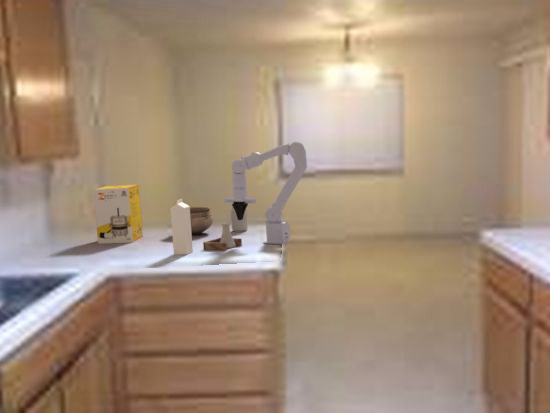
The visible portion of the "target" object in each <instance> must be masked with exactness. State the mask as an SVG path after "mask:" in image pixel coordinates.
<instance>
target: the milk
mask: <svg viewBox="0 0 550 413" xmlns="http://www.w3.org/2000/svg"><path fill="white" fill-rule="evenodd" d="M190 207H191V205H188V204H187V203H184V202H183V198H179V199H177V200H176V204H175V205H173V206H172V207H170V220H171V234H172V249H173V255H174V256H175V255H190V254H191V253H193V252H194V251H193V250H194V249H193V239H192V238H193V237H192V236H193V235H192V234H191V219H190Z"/></svg>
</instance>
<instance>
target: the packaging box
mask: <svg viewBox="0 0 550 413" xmlns="http://www.w3.org/2000/svg"><path fill="white" fill-rule="evenodd" d="M93 201H94V210H95V211H94V212H95V213H94V214H95V223H96V235H97V244H99V245H103V244H125V243H127V244H130V243H134V242H136V241H138V240H139V239H141V238H142V237H144V235H143V225H142V224H143V222H142V210H141V197H140V185H139V184H125V185H122V184H121V185H106V186H102V187H98V188H94V189H93Z"/></svg>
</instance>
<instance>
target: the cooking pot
mask: <svg viewBox="0 0 550 413" xmlns="http://www.w3.org/2000/svg"><path fill="white" fill-rule="evenodd" d="M210 209H211V206H190V219H191V234H192V236H199V235H202V233H204V232H205V231H207V230H208V229H210V227H211V226H212V224H213V221H214V219H213V218H214V217H213V214H212V212H211V210H210Z"/></svg>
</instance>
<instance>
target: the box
mask: <svg viewBox="0 0 550 413" xmlns="http://www.w3.org/2000/svg"><path fill="white" fill-rule="evenodd" d="M232 238H233V240H234V242H235V244H236V247H241V246H242V245H243V244H242V243H243V242H242V240H243V239H242V238H236V237H232ZM220 240H221V237H216V238H215V239H214V238H213V239H211V240H208V241H204V242H202V245H203V246H202V247H203V250H207V251H223V252H227V251H228V248H227V245H226V243H220Z"/></svg>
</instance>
